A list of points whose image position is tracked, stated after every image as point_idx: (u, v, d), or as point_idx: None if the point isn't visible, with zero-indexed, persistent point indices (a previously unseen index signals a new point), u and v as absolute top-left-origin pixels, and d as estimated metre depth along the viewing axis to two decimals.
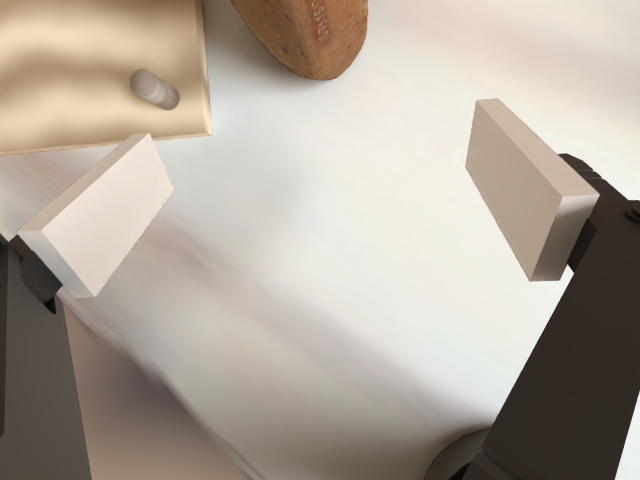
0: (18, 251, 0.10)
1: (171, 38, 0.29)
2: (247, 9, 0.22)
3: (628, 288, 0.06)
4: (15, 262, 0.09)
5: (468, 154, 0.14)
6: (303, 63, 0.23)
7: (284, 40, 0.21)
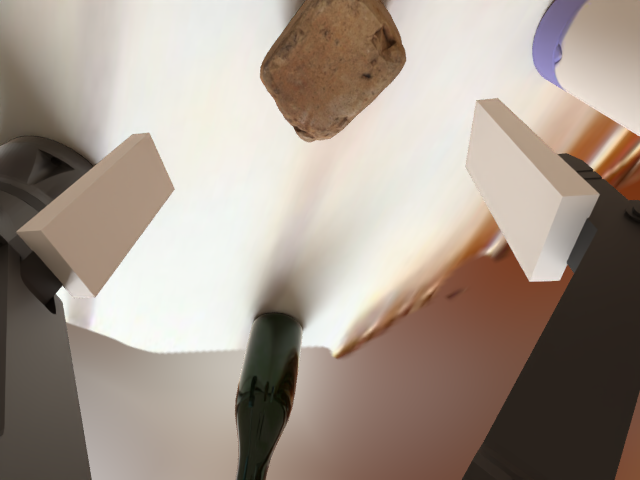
0: (18, 251, 0.10)
1: None
2: None
3: (628, 288, 0.06)
4: (15, 262, 0.09)
5: (468, 154, 0.14)
6: None
7: None
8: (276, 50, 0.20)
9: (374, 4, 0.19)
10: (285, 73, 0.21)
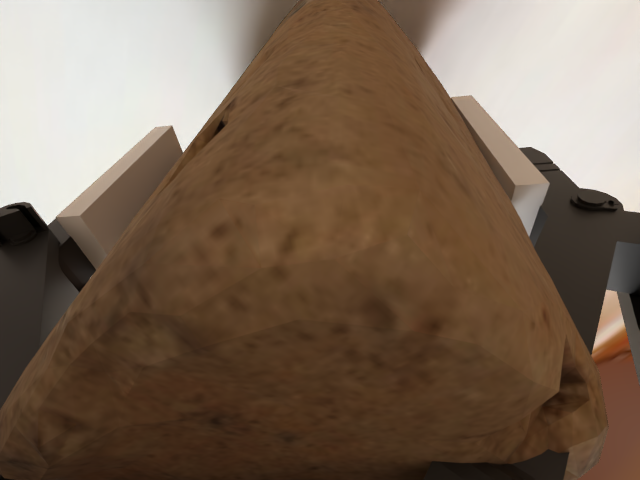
0: (58, 237, 0.10)
1: None
2: None
3: (576, 270, 0.06)
4: (54, 248, 0.09)
5: None
6: None
7: None
8: None
9: (530, 295, 0.03)
10: None
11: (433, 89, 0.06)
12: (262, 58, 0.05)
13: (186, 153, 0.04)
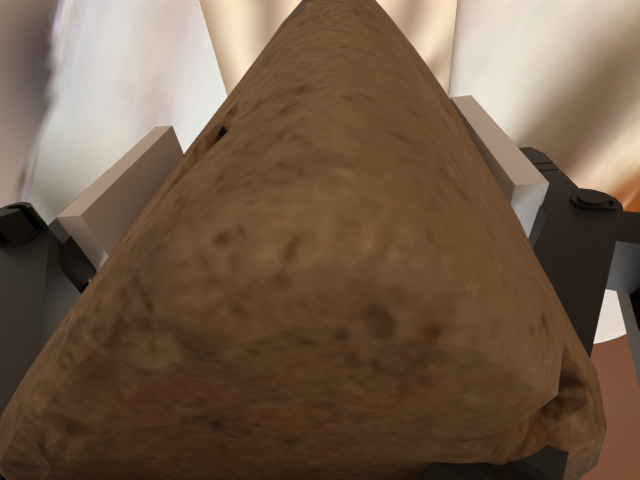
0: (58, 237, 0.10)
1: None
2: None
3: (575, 269, 0.06)
4: (54, 248, 0.09)
5: None
6: None
7: None
8: None
9: (529, 300, 0.03)
10: None
11: (433, 93, 0.06)
12: (263, 62, 0.05)
13: (188, 158, 0.04)
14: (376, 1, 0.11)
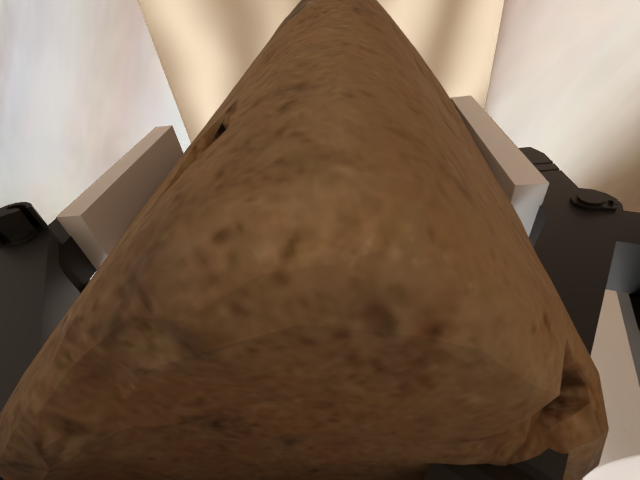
0: (58, 237, 0.10)
1: None
2: None
3: (575, 270, 0.06)
4: (54, 248, 0.09)
5: None
6: None
7: None
8: None
9: (531, 299, 0.03)
10: None
11: (433, 91, 0.06)
12: (263, 60, 0.05)
13: (187, 156, 0.04)
14: (376, 0, 0.11)
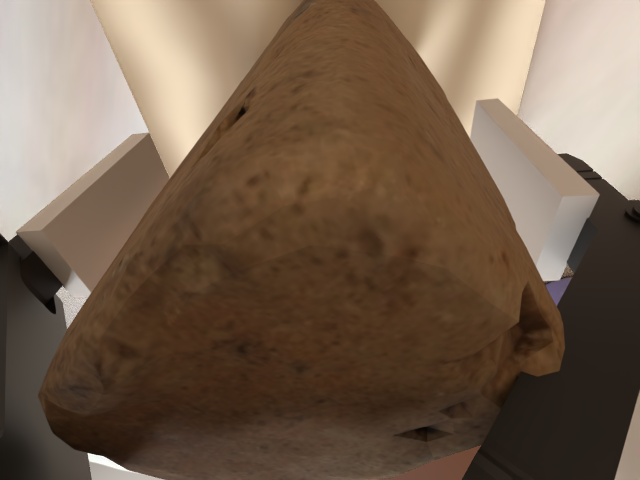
0: (18, 251, 0.10)
1: None
2: None
3: (628, 288, 0.06)
4: (15, 262, 0.09)
5: None
6: None
7: None
8: (51, 370, 0.05)
9: (491, 239, 0.04)
10: (107, 426, 0.05)
11: (423, 82, 0.07)
12: (273, 55, 0.06)
13: (212, 135, 0.05)
14: (374, 0, 0.12)
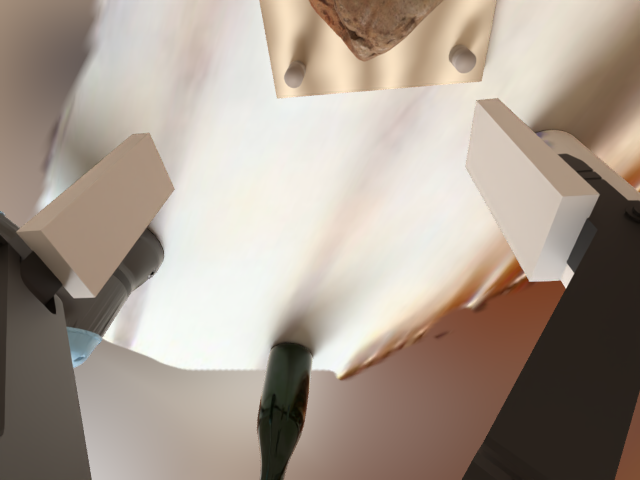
0: (18, 251, 0.10)
1: (339, 72, 0.40)
2: None
3: (628, 288, 0.06)
4: (15, 262, 0.09)
5: (468, 154, 0.14)
6: None
7: None
8: None
9: None
10: None
11: None
12: None
13: None
14: None
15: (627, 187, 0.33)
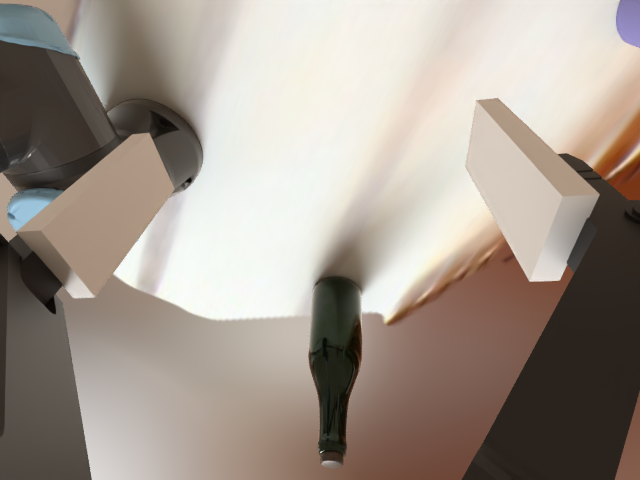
0: (18, 251, 0.10)
1: None
2: None
3: (628, 288, 0.06)
4: (15, 262, 0.09)
5: (468, 154, 0.14)
6: None
7: None
8: None
9: None
10: None
11: None
12: None
13: None
14: None
15: None
